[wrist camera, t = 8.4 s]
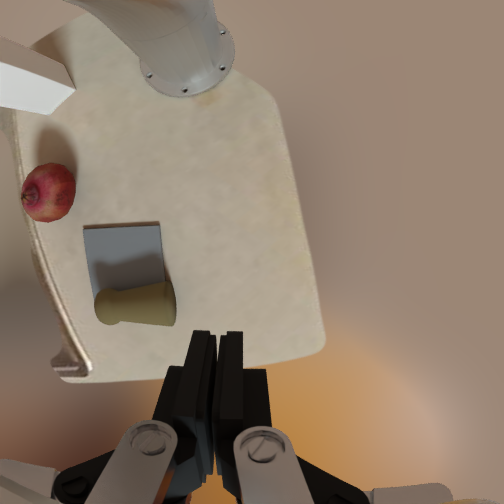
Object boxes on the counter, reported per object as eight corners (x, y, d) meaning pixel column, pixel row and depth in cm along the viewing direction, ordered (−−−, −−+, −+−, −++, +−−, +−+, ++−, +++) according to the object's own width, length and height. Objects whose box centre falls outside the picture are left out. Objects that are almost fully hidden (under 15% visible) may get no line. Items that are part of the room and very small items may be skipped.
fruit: (47, 162, 36) (4, 164, 26) (88, 162, 36) (48, 163, 26) (44, 215, 38) (3, 227, 28) (85, 219, 38) (46, 233, 28)
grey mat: (84, 229, 38) (82, 229, 38) (160, 225, 38) (159, 225, 38) (99, 317, 42) (98, 318, 42) (170, 320, 42) (169, 321, 42)
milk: (76, 89, 33) (-28, 53, 12) (48, 116, 34) (-60, 100, 12) (64, 64, 32) (-32, 22, 10) (37, 90, 32) (-63, 65, 11)
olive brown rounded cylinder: (169, 272, 40) (100, 278, 40) (159, 296, 34) (83, 300, 34) (178, 309, 42) (112, 312, 42) (171, 335, 37) (98, 336, 37)
